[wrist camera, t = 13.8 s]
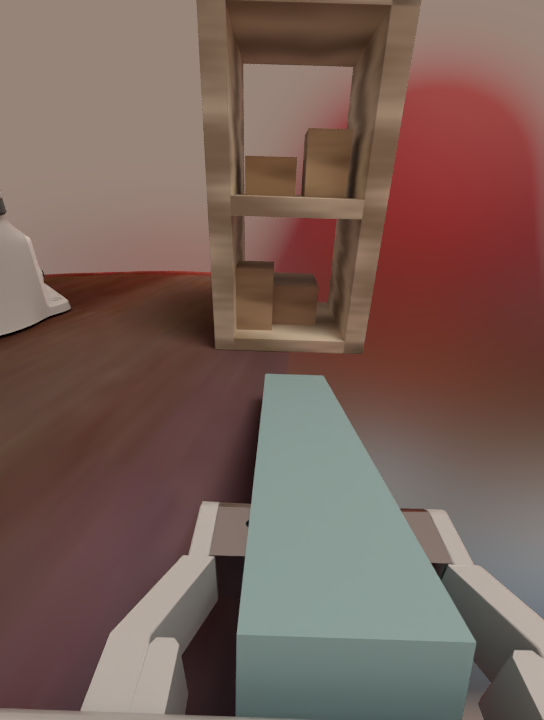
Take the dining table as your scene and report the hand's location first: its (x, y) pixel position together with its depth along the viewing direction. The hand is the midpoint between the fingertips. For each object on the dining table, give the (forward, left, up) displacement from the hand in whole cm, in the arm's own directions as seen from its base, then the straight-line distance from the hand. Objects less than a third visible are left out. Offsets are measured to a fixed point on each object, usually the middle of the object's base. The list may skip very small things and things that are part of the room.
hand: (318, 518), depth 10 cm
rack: (-23, +16, -5) cm, 29 cm away
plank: (-3, +2, -3) cm, 5 cm away
